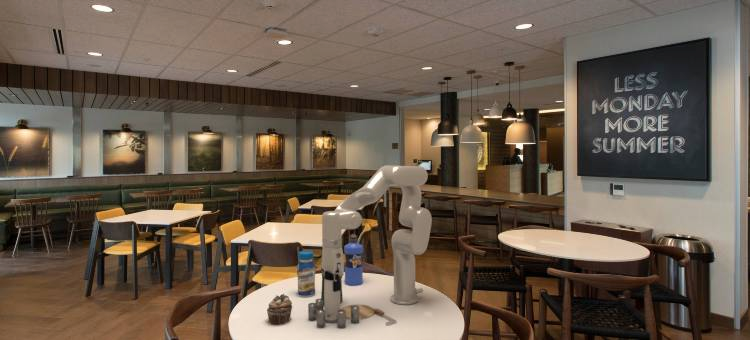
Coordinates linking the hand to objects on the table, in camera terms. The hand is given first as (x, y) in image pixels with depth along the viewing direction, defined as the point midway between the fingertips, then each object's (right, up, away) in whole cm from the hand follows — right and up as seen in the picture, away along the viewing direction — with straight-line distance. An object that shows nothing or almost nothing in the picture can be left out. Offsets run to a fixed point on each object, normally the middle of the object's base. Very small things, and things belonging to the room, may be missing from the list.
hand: (332, 288), depth 156 cm
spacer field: (0, -13, 0) cm, 13 cm away
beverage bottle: (-15, -12, +30) cm, 36 cm away
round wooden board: (+9, -12, +8) cm, 17 cm away
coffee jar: (-2, -12, +19) cm, 22 cm away
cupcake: (-21, -13, 0) cm, 24 cm away
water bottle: (+6, -11, +47) cm, 48 cm away
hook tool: (+19, -13, +2) cm, 23 cm away
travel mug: (0, -13, 0) cm, 13 cm away
